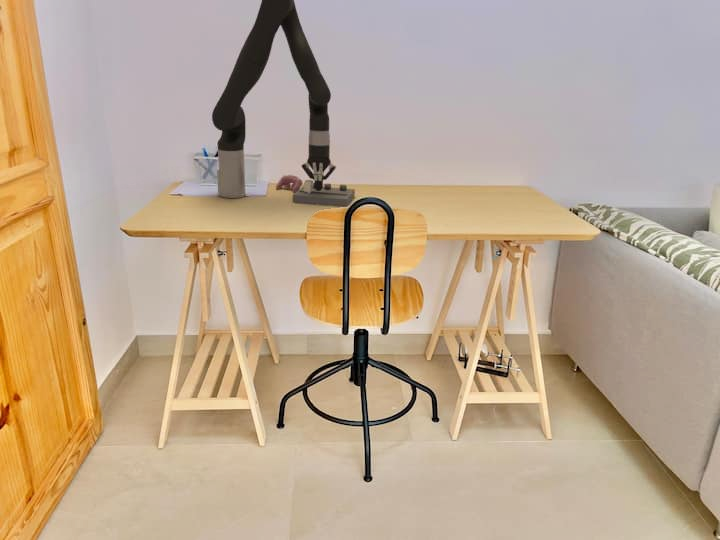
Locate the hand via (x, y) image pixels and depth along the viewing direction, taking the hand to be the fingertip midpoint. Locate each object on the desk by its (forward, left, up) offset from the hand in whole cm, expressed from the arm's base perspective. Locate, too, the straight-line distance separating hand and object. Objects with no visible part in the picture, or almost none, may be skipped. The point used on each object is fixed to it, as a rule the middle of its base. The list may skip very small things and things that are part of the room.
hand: (318, 190), depth 204 cm
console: (+2, +2, -4) cm, 5 cm away
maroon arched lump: (-15, +12, -4) cm, 19 cm away
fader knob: (-4, 0, 0) cm, 4 cm away
